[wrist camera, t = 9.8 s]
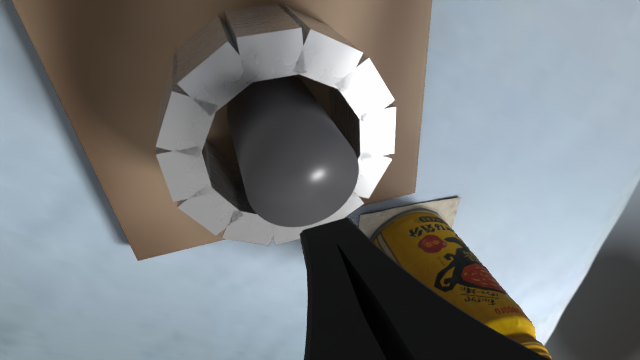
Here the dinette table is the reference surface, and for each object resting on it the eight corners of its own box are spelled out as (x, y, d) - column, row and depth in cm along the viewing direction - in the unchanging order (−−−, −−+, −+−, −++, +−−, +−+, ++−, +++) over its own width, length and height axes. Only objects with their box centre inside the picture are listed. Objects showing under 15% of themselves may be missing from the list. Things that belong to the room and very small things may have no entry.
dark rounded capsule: (253, 51, 17) (284, 108, 12) (328, 93, 19) (380, 156, 14) (211, 129, 18) (224, 208, 13) (284, 160, 20) (319, 238, 15)
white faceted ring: (358, -7, 17) (400, 12, 13) (360, 170, 22) (391, 215, 19) (132, 23, 15) (119, 55, 12) (193, 208, 20) (196, 265, 17)
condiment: (459, 195, 27) (614, 352, 17) (436, 281, 31) (547, 442, 22) (358, 212, 25) (469, 399, 15) (349, 301, 30) (430, 485, 20)
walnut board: (427, -87, 17) (439, -87, 16) (407, 183, 25) (415, 192, 24) (2, -45, 13) (-9, -42, 13) (139, 247, 22) (137, 260, 21)
